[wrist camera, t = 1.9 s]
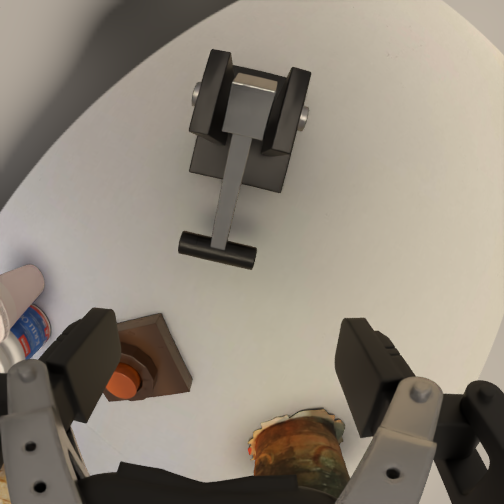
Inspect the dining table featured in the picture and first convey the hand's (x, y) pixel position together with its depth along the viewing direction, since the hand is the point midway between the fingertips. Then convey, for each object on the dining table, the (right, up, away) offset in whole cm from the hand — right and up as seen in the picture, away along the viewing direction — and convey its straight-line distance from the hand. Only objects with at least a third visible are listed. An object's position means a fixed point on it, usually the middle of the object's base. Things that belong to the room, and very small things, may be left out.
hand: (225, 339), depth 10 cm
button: (-12, -10, +18) cm, 24 cm away
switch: (0, +8, +9) cm, 12 cm away
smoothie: (-24, 0, +19) cm, 31 cm away
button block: (-12, -9, +22) cm, 27 cm away
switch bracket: (+1, +14, +15) cm, 21 cm away
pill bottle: (-26, -6, +21) cm, 34 cm away
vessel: (+6, -22, +26) cm, 35 cm away
